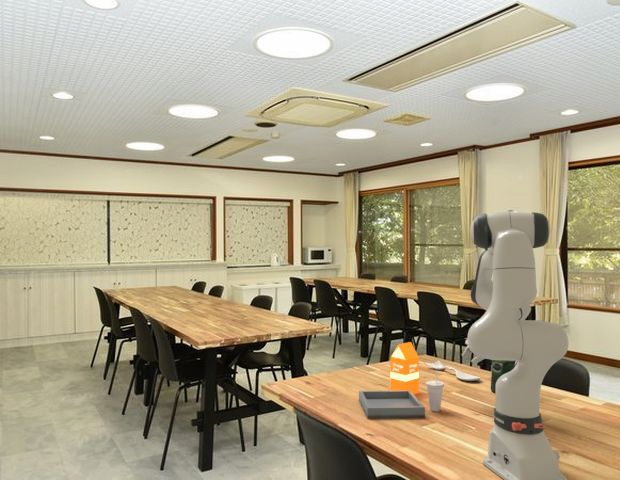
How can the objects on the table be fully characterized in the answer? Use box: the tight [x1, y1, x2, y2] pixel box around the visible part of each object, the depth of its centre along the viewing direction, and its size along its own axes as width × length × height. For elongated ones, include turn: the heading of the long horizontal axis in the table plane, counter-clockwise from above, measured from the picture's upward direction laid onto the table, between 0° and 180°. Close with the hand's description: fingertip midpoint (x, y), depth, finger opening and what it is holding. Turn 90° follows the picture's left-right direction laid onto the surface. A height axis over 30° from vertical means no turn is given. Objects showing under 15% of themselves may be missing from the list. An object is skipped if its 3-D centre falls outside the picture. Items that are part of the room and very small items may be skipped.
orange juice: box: [389, 341, 420, 395], centre depth 198 cm, size 8×9×20 cm
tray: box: [358, 390, 426, 419], centre depth 178 cm, size 20×20×4 cm
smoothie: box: [425, 370, 445, 412], centre depth 177 cm, size 6×6×14 cm
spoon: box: [423, 360, 481, 382], centre depth 226 cm, size 9×32×4 cm, turn 24°
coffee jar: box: [490, 360, 516, 394], centre depth 198 cm, size 10×8×19 cm
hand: (468, 359), depth 178 cm, fingers open, 8 cm apart
